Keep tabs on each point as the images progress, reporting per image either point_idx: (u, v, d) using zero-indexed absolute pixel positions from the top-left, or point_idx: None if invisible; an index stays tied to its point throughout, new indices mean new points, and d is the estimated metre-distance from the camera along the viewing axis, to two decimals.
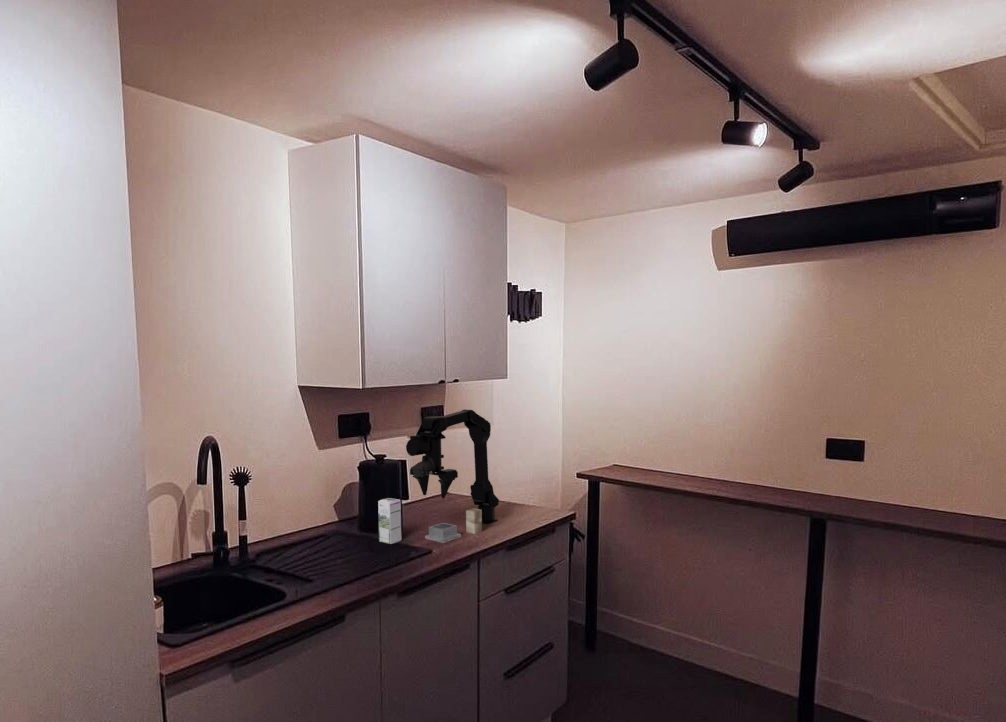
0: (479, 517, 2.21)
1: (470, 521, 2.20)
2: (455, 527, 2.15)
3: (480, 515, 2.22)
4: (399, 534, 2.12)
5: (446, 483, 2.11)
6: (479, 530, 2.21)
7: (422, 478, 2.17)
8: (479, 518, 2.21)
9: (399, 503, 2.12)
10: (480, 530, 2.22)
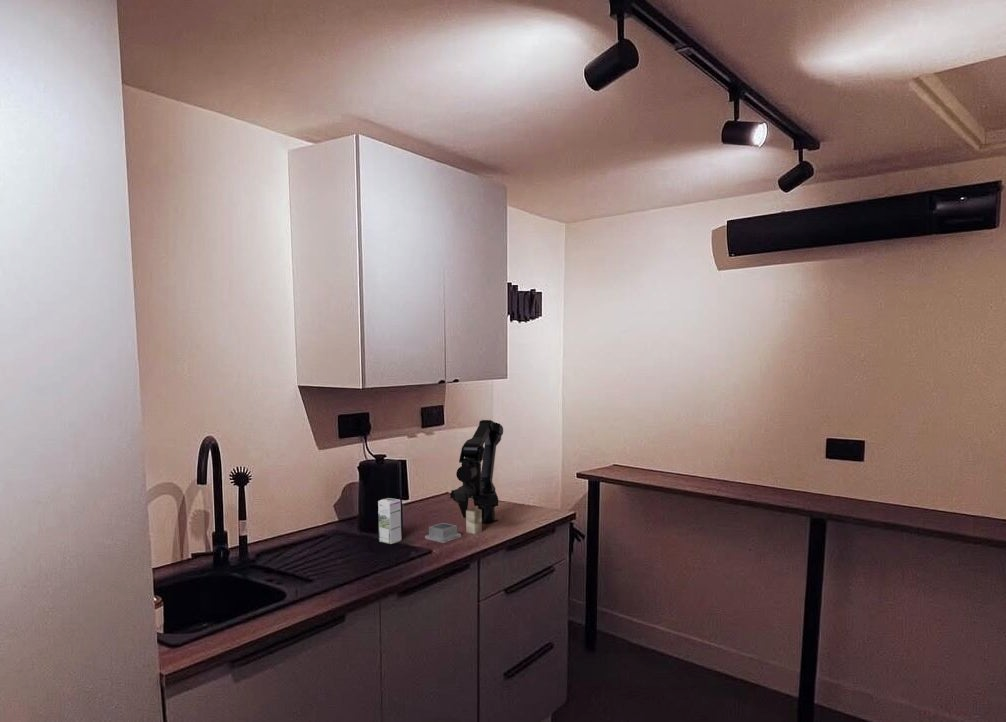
0: (479, 517, 2.21)
1: (470, 521, 2.20)
2: (455, 527, 2.15)
3: (480, 515, 2.22)
4: (399, 534, 2.12)
5: (486, 507, 2.19)
6: (479, 530, 2.21)
7: (462, 501, 2.25)
8: (479, 518, 2.21)
9: (399, 503, 2.12)
10: (480, 530, 2.22)
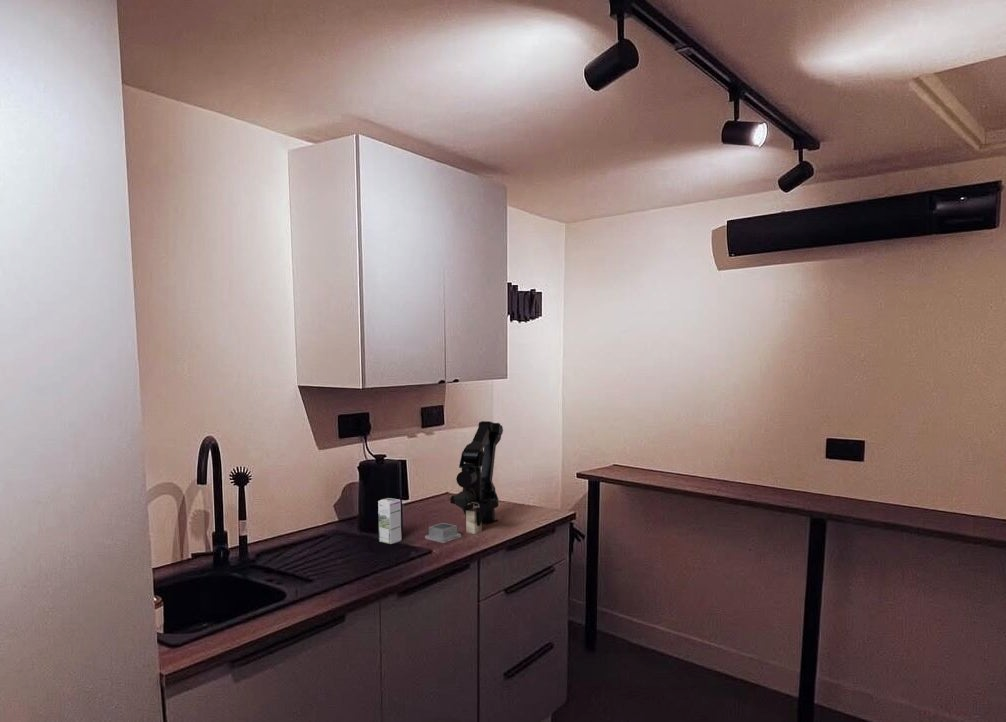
0: None
1: (470, 521, 2.20)
2: (455, 527, 2.15)
3: None
4: (399, 534, 2.12)
5: (481, 511, 2.20)
6: (479, 530, 2.21)
7: (467, 507, 2.23)
8: None
9: (399, 503, 2.12)
10: (480, 530, 2.22)
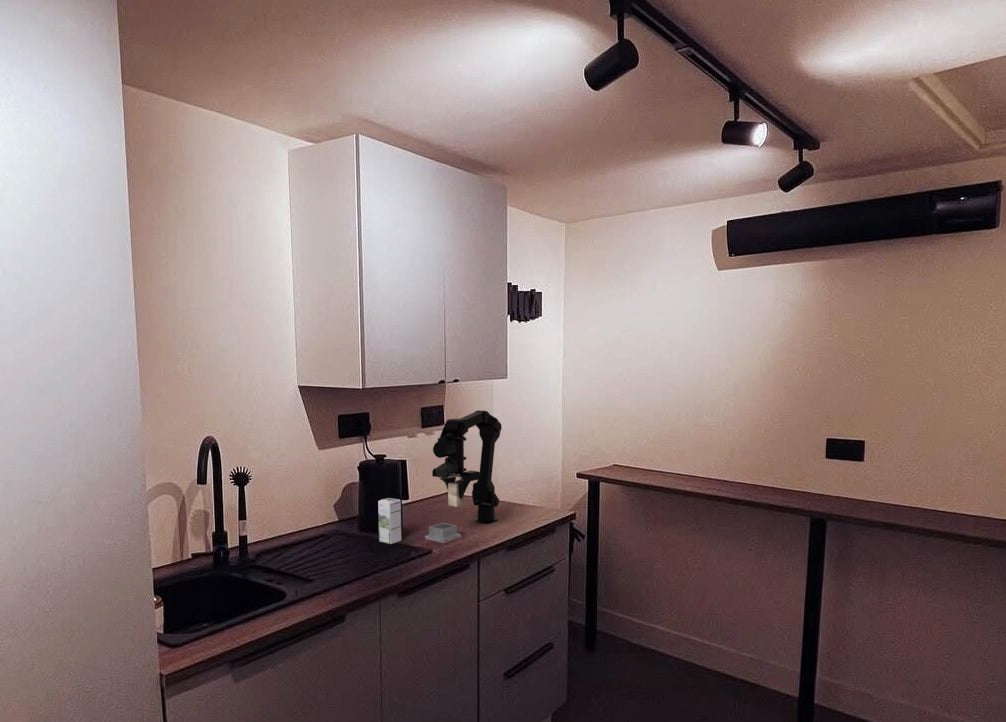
0: None
1: (452, 494, 2.16)
2: (455, 527, 2.15)
3: None
4: (399, 534, 2.12)
5: (464, 484, 2.16)
6: (461, 503, 2.17)
7: (449, 480, 2.19)
8: None
9: (399, 503, 2.12)
10: (462, 503, 2.17)
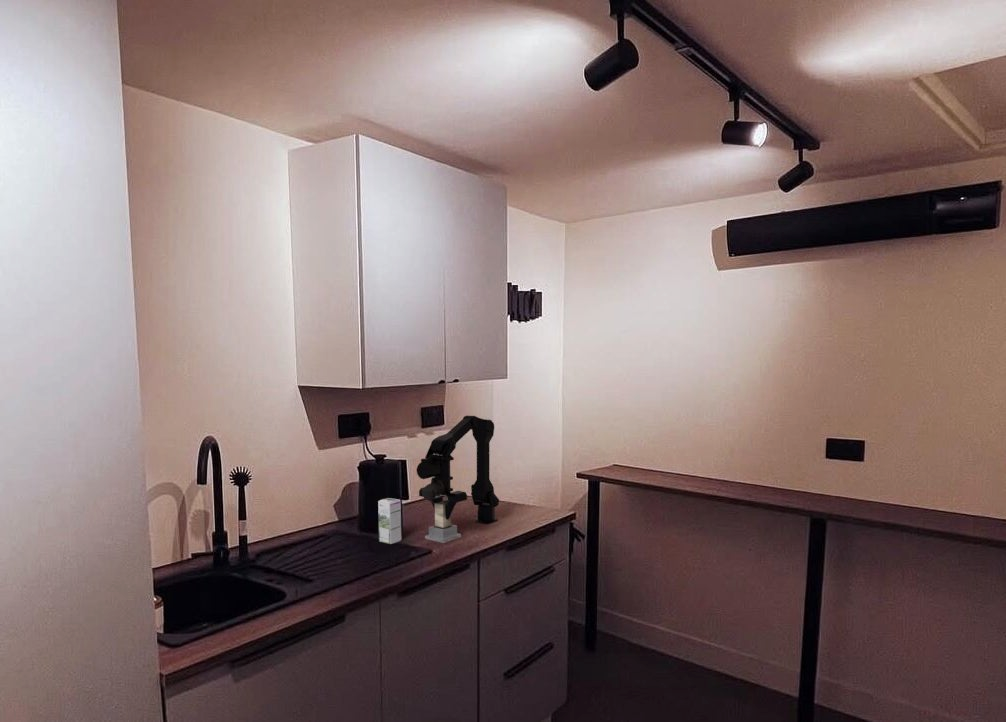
0: None
1: (438, 515, 2.14)
2: (455, 527, 2.15)
3: None
4: (399, 534, 2.12)
5: (450, 504, 2.13)
6: (448, 523, 2.14)
7: (436, 500, 2.16)
8: None
9: (399, 503, 2.12)
10: (449, 523, 2.15)
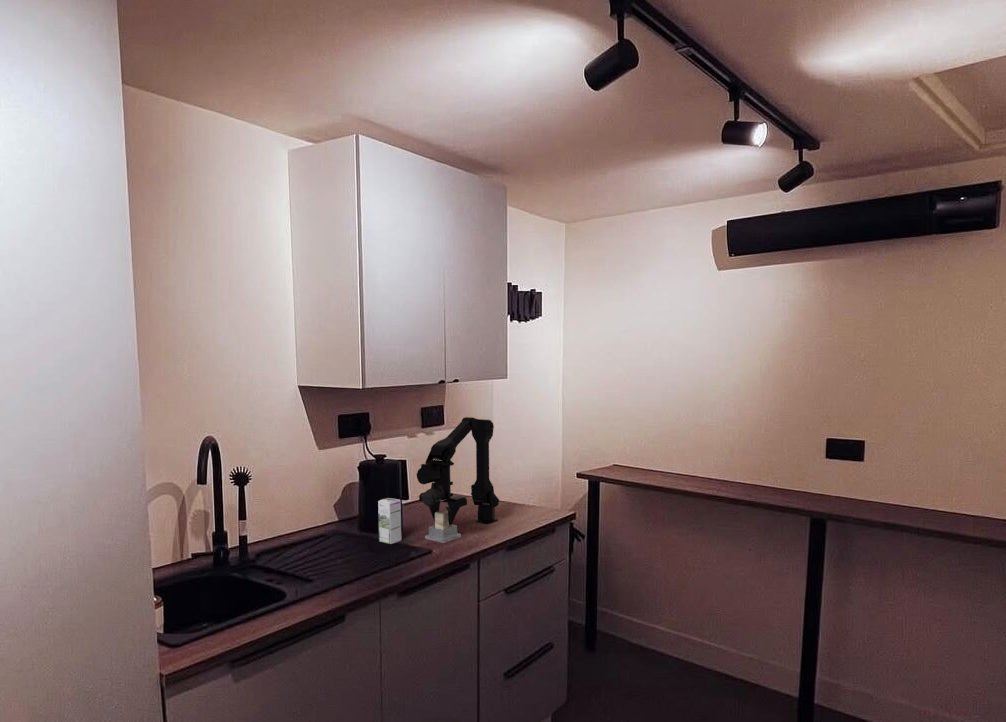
0: None
1: (438, 524, 2.14)
2: (455, 527, 2.15)
3: None
4: (399, 534, 2.12)
5: (453, 510, 2.12)
6: None
7: (433, 505, 2.17)
8: None
9: (399, 503, 2.12)
10: None
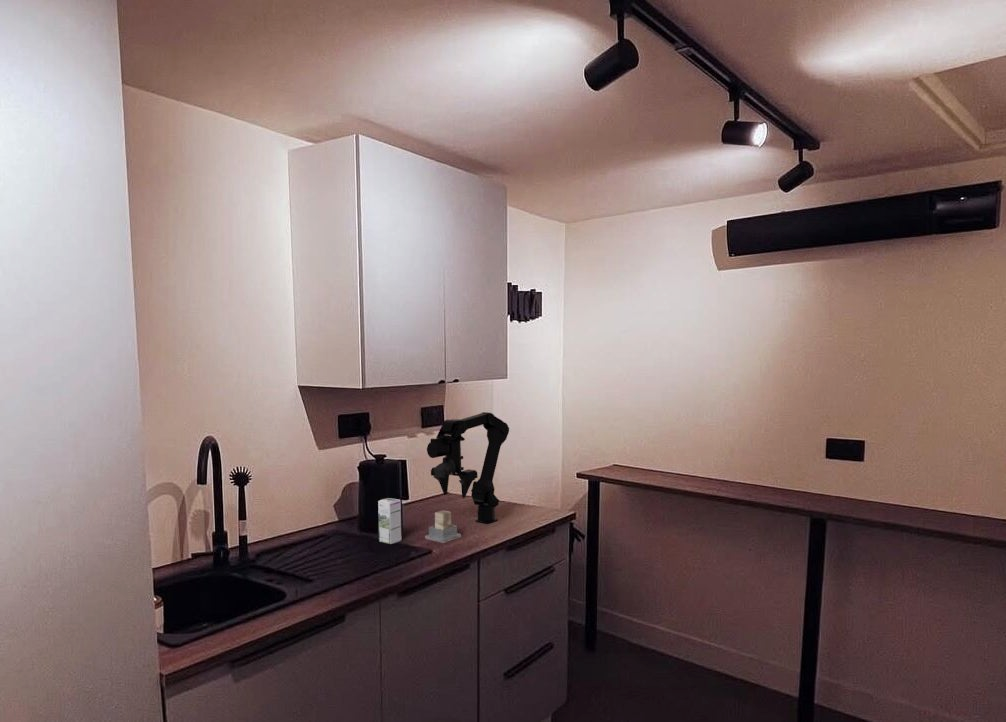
0: (448, 519, 2.14)
1: (438, 524, 2.14)
2: (455, 527, 2.15)
3: (449, 517, 2.15)
4: (399, 534, 2.12)
5: (466, 483, 2.21)
6: None
7: (442, 478, 2.27)
8: (448, 520, 2.14)
9: (399, 503, 2.12)
10: None
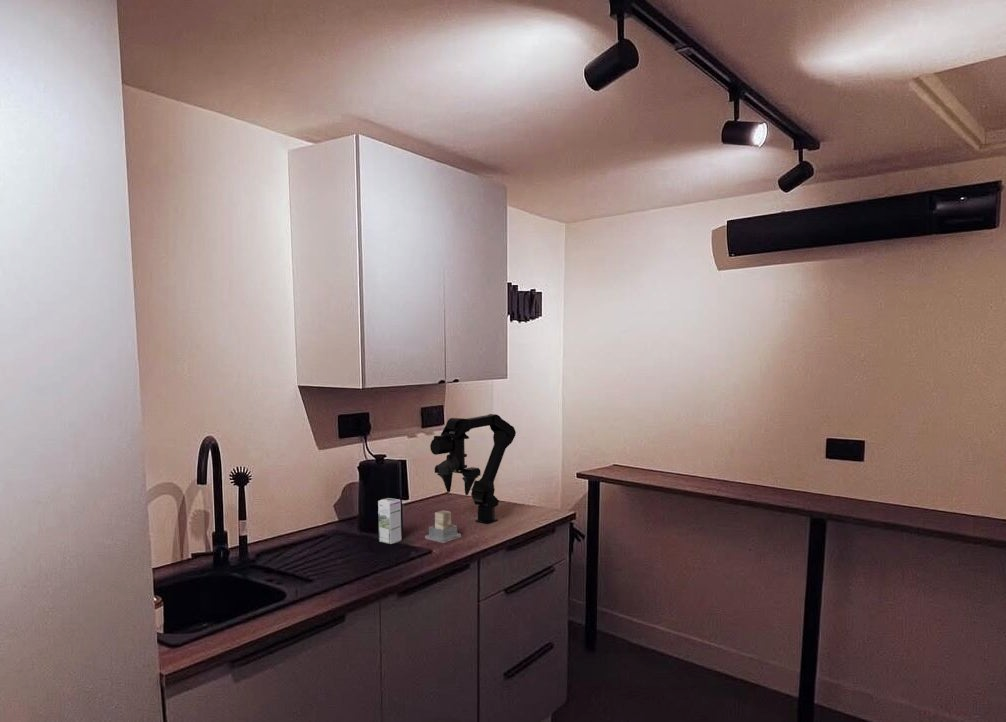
0: (448, 519, 2.14)
1: (438, 524, 2.14)
2: (455, 527, 2.15)
3: (449, 517, 2.15)
4: (399, 534, 2.12)
5: (469, 481, 2.24)
6: None
7: (446, 476, 2.30)
8: (448, 520, 2.14)
9: (399, 503, 2.12)
10: None
